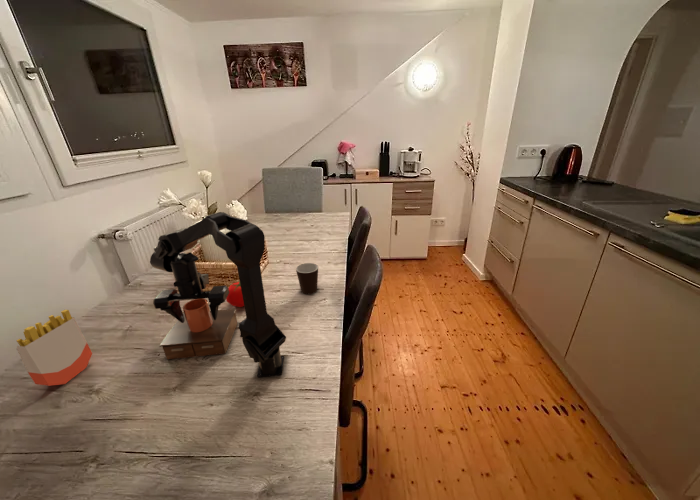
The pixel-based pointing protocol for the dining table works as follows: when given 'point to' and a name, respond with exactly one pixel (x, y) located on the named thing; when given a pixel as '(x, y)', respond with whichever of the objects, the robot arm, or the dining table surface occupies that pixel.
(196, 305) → the cup
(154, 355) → the dining table surface
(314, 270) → the coffee mug
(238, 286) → the tomato
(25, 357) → the french fries container
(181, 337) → the low cabinet
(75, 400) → the dining table surface
